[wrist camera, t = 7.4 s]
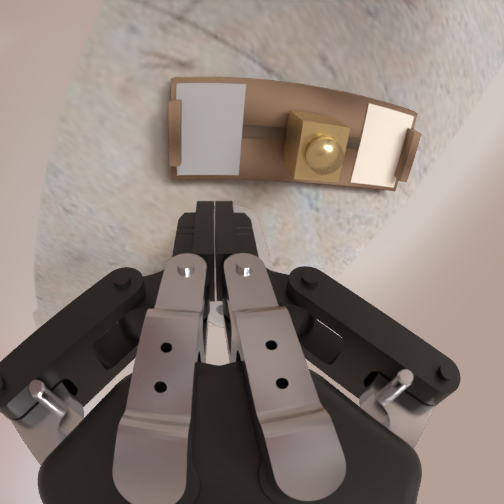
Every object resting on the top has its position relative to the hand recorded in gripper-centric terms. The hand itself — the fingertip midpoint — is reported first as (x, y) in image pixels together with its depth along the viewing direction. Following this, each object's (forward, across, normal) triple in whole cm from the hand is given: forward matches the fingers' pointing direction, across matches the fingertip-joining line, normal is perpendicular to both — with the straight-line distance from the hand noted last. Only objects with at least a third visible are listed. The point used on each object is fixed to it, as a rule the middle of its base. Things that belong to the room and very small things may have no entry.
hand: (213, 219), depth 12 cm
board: (+17, -8, 0) cm, 19 cm away
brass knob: (+15, -8, 0) cm, 17 cm away
